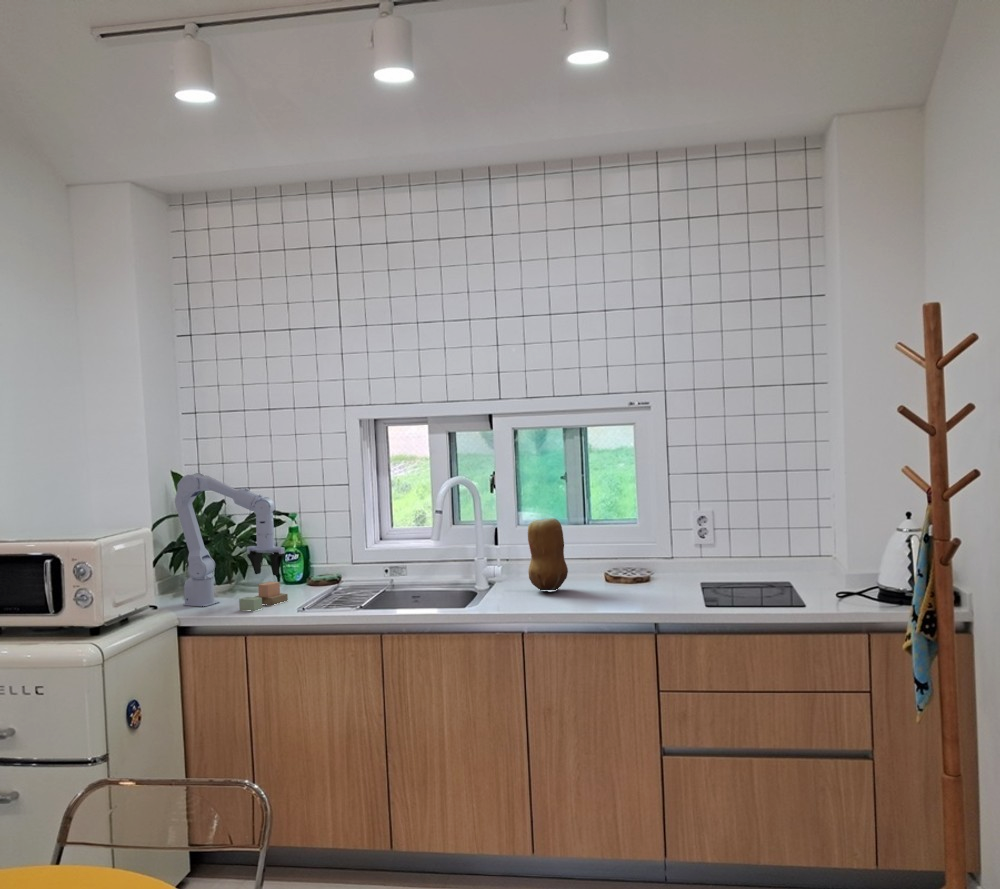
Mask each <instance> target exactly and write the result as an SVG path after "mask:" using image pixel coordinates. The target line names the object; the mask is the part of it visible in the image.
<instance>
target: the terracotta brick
mask: <svg viewBox="0 0 1000 889" xmlns="http://www.w3.org/2000/svg"><path fill="white" fill-rule="evenodd" d="M257 587H258V588H257V589H258V596H259V597H272V596H275V595H278V594H280V593H281V590H280V589H281V588H280V581H268V582H263V583H260V584H258V586H257Z"/></svg>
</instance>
